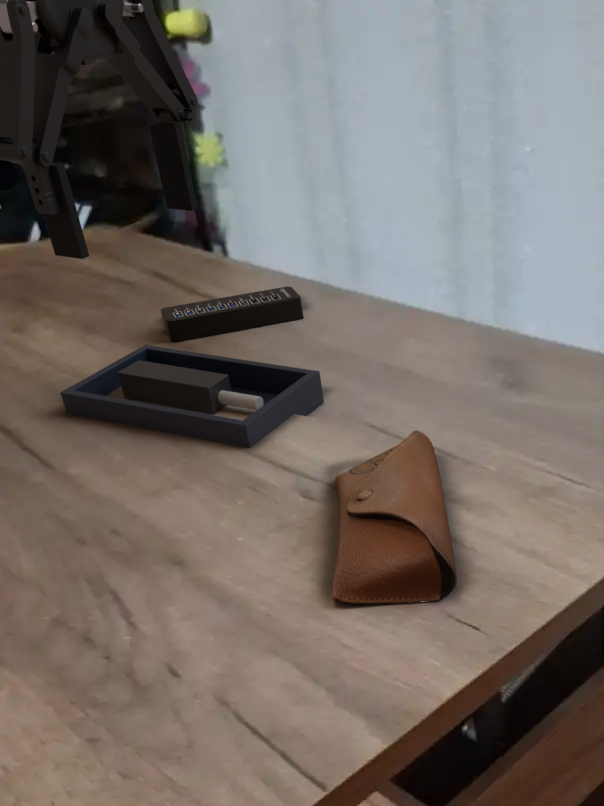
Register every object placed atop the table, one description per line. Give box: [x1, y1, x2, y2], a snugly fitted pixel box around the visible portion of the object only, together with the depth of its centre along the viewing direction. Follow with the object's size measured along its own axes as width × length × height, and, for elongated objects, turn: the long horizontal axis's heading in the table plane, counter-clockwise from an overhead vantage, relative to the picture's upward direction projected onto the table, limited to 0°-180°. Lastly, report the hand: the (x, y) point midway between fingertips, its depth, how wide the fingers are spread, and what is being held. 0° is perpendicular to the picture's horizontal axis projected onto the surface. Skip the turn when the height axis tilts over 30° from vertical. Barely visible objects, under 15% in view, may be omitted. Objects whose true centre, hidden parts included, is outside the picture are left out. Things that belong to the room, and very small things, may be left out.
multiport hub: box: [160, 286, 304, 343], centre depth 103 cm, size 4×14×2 cm, turn 114°
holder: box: [59, 344, 325, 449], centre depth 85 cm, size 20×12×3 cm, turn 66°
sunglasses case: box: [331, 429, 458, 606], centre depth 68 cm, size 18×7×7 cm
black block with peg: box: [118, 360, 263, 415], centre depth 85 cm, size 14×3×3 cm, turn 66°
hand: (130, 231), depth 78 cm, fingers open, 13 cm apart
